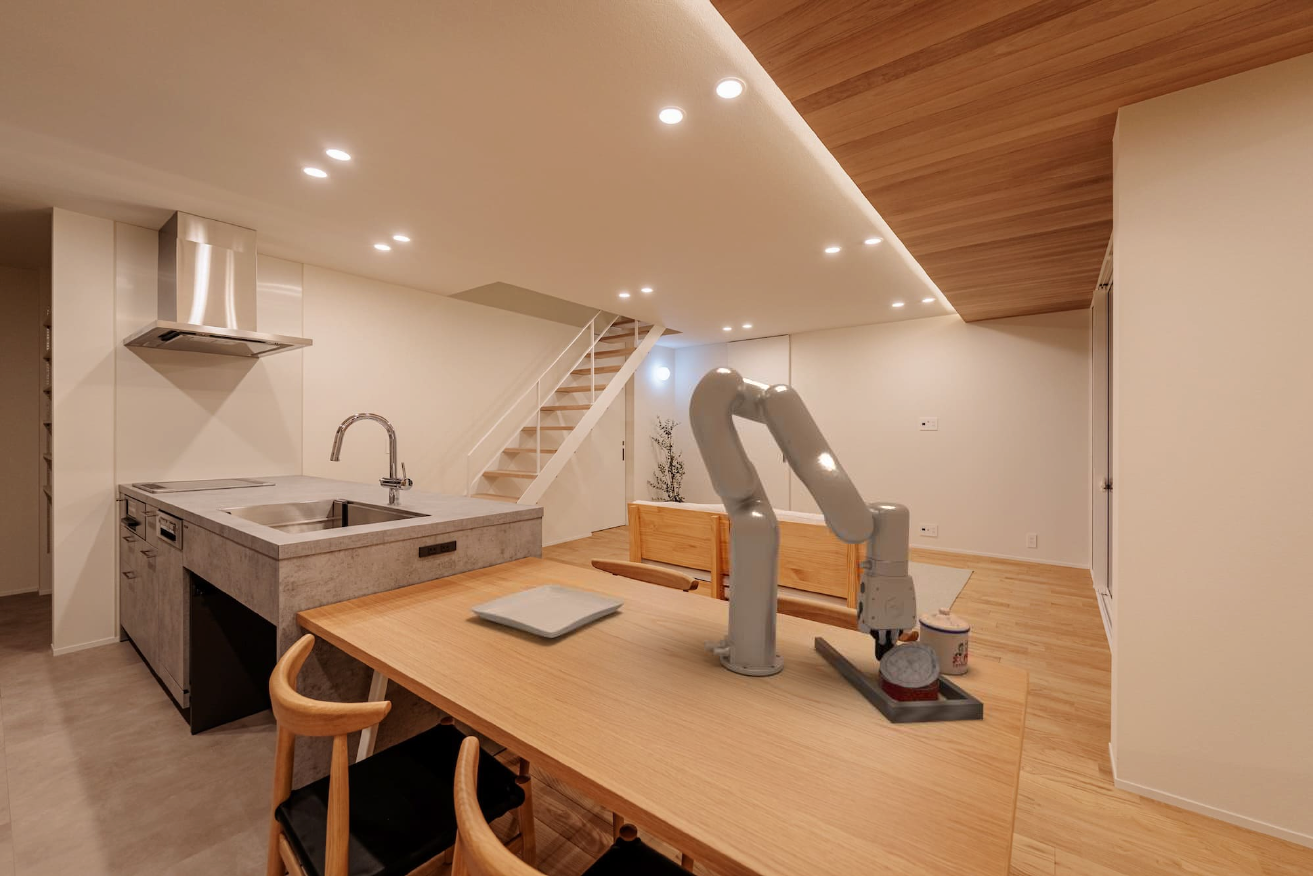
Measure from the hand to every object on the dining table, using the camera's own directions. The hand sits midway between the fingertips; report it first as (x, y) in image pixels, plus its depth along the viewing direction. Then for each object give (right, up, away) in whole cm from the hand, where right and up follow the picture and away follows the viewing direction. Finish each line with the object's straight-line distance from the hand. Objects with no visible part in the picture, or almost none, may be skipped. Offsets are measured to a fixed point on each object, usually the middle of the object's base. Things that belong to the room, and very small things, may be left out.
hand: (884, 662), depth 102 cm
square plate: (-70, -1, +28) cm, 76 cm away
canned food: (+2, -3, -6) cm, 7 cm away
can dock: (0, -3, -1) cm, 3 cm away
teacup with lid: (+15, -3, +6) cm, 17 cm away
